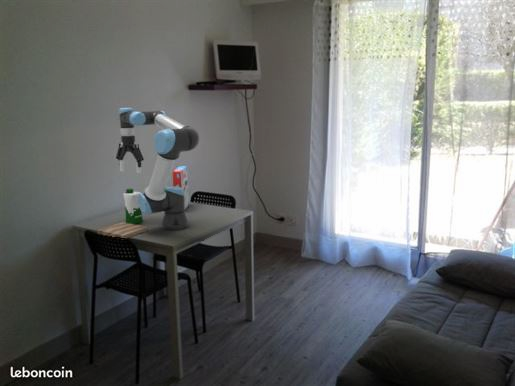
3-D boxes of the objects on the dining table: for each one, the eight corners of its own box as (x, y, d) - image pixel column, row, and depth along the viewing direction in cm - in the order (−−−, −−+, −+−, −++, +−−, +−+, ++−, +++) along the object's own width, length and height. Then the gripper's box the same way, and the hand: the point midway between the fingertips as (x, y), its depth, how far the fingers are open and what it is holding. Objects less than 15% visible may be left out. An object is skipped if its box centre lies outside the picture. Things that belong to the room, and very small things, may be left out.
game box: (181, 205, 308) (179, 166, 302) (189, 205, 308) (187, 166, 302) (174, 212, 288) (172, 171, 282) (182, 212, 288) (180, 171, 282)
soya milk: (134, 219, 273) (132, 187, 269) (145, 221, 269) (143, 189, 264) (123, 223, 266) (121, 190, 262) (134, 225, 261) (132, 191, 257)
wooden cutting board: (147, 230, 251) (147, 227, 250) (122, 239, 236) (122, 235, 235) (122, 225, 261) (122, 222, 261) (97, 233, 246) (97, 230, 246)
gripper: (148, 135, 253) (150, 172, 257) (117, 134, 266) (120, 169, 270) (138, 136, 247) (141, 174, 251) (107, 135, 259) (110, 171, 264)
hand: (130, 172), depth 261 cm, fingers open, 13 cm apart
